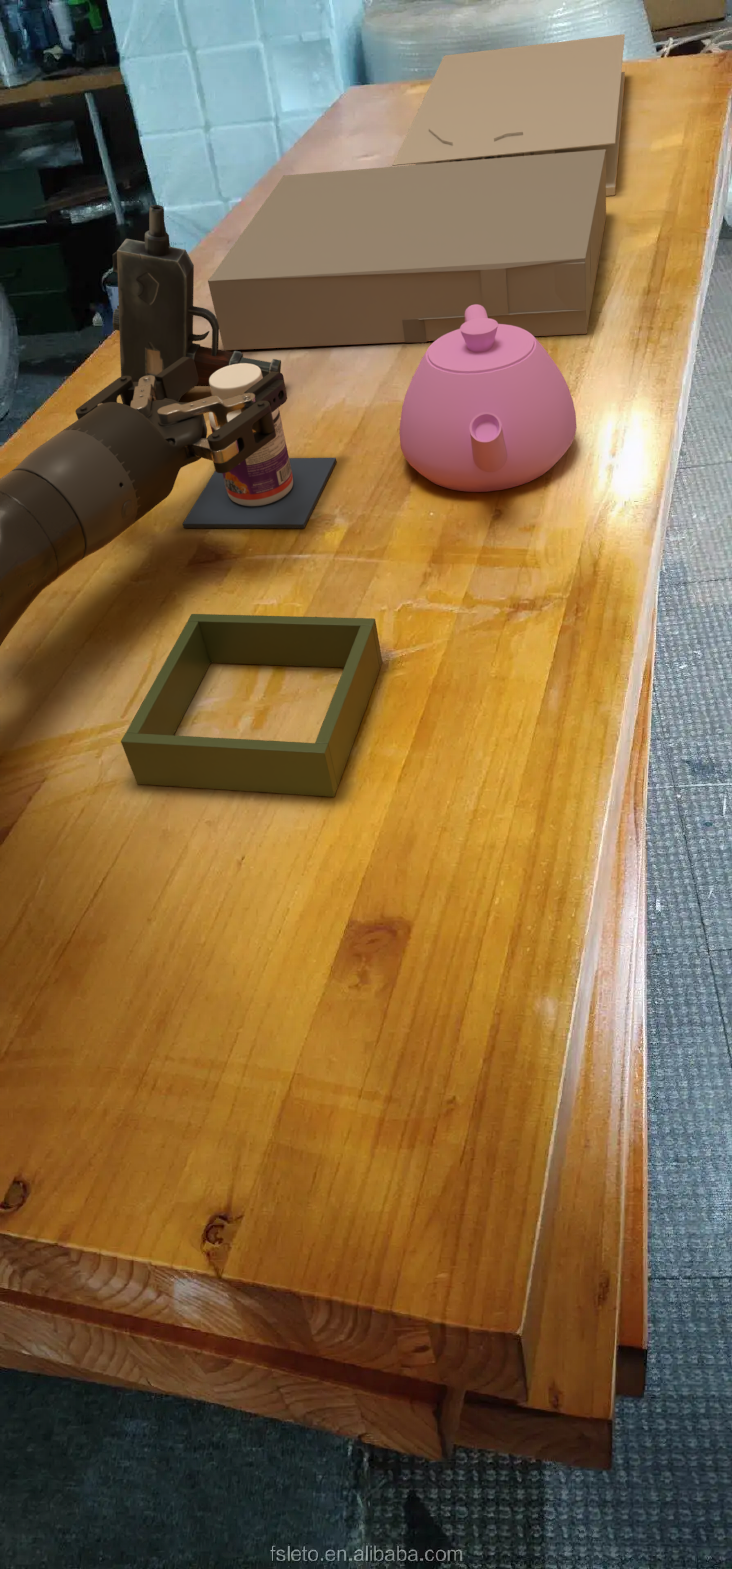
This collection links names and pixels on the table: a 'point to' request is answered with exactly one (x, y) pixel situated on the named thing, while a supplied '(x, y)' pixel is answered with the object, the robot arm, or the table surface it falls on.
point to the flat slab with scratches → (522, 104)
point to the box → (416, 252)
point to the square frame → (245, 760)
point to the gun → (164, 310)
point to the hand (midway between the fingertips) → (235, 376)
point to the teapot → (486, 408)
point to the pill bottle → (268, 466)
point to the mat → (282, 513)
